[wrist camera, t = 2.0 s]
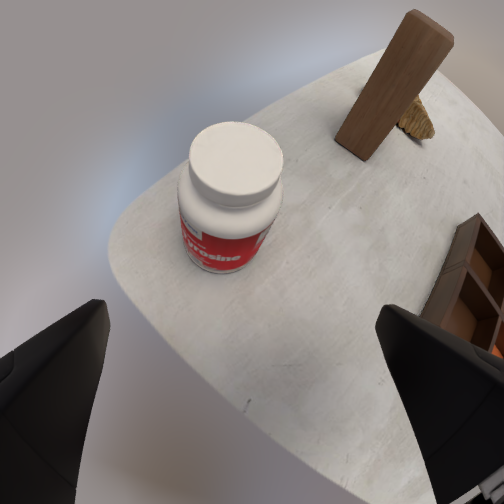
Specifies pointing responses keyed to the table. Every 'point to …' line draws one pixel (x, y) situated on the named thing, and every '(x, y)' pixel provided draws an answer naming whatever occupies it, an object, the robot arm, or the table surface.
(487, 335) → the grid
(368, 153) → the wooden block
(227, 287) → the table surface
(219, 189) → the pill bottle
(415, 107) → the fossil
